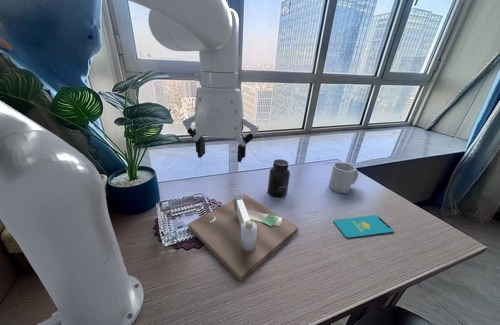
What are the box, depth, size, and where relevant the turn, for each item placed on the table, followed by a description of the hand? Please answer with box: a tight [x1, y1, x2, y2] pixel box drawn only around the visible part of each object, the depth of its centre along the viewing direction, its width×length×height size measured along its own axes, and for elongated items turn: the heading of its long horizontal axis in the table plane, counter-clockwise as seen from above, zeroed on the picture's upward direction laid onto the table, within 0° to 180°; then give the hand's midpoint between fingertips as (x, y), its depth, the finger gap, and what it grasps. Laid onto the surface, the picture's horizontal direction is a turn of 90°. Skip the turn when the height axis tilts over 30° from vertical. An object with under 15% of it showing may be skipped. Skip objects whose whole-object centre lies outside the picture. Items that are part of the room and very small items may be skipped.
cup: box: [328, 161, 359, 194], centre depth 77 cm, size 7×10×9 cm
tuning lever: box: [233, 194, 257, 252], centre depth 53 cm, size 14×4×7 cm, turn 15°
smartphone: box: [332, 214, 395, 240], centre depth 60 cm, size 7×1×15 cm
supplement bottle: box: [267, 159, 291, 199], centre depth 71 cm, size 7×7×12 cm
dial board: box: [187, 193, 299, 282], centre depth 57 cm, size 21×21×2 cm
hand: (220, 157), depth 51 cm, fingers open, 9 cm apart
